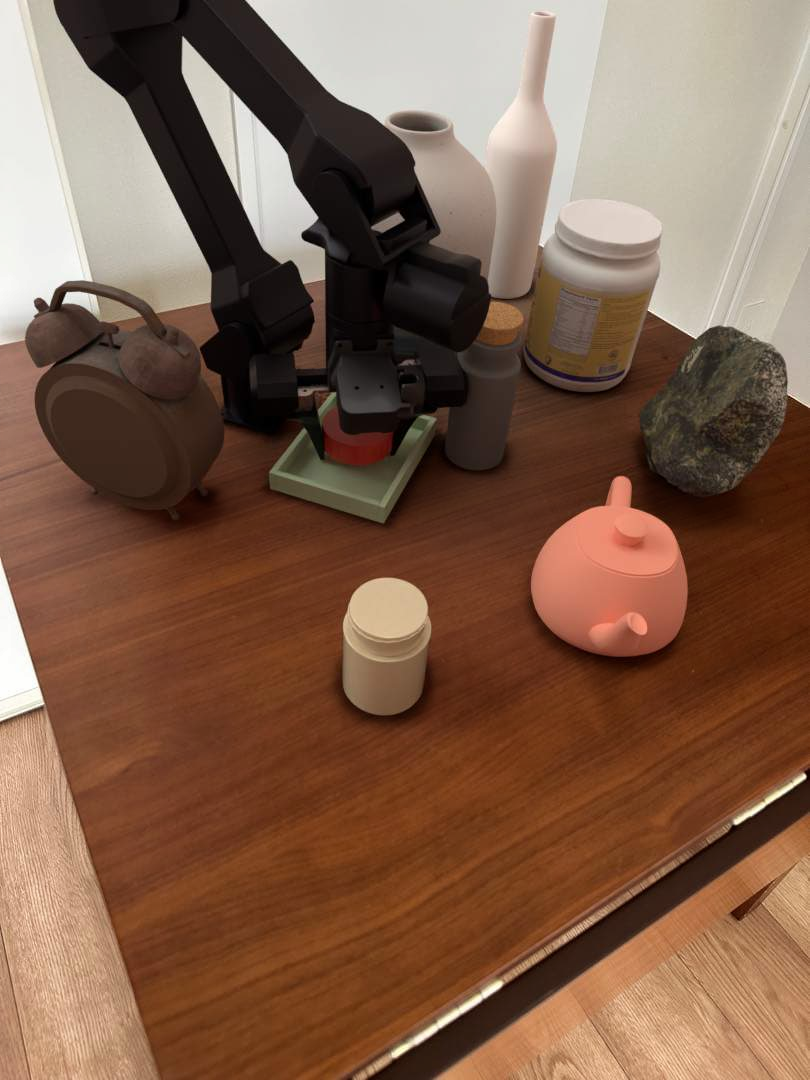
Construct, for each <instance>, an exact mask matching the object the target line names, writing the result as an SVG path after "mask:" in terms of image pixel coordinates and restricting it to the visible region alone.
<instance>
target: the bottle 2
mask: <svg viewBox="0 0 810 1080" xmlns="http://www.w3.org/2000/svg"><path fill="white" fill-rule="evenodd" d="M524 319H525V318H524V314H523V313H522V311H520V310H519V309H518V308H516V307H515V306H513V305H510V304H509V303H506V302H502V301H501V302H500V301H493V300H492V301H490V306H489V311H488V314H487V317H486V320H485V322H484V324H483V327H482V329H481V331H480V333H479V334H478V336H477V338H476V339H475V341H474V342H473V343H472V344H471V345H470V347H469V348H468V349H466V350H465V351H463V352H458V354H457V358H458V361H459V363H460V365H461V367H462V369H463V370H464V372H465V373H466V375H467V377H468V384H469V389H468V396H467V403H466V404H464V405H463V406H462V407H449V409H448V417H447V424H446V432H445V441H444V453H445V455H446V457H447V459H448V460H449V461H450V462H451V463H453V464H454V465H455V466H457V467H459V468H462V469H465V470H470V471H486V470H490V469H492V468H494V467H496V466H498V465H499V464H500V463H501V461H502V459H503V458H504V457H503V456H504V453H505V449H506V443H507V439H508V434H509V429H510V426H511V425H510V424H511V419H512V414H513V409H514V403H515V399H516V395H517V394H516V393H517V388H518V383H519V378H520V372H521V366H522V365H521V359H520V357H519V355H518V352H519V351H520V349H521V346H522V342H523V341H522V340H523V335H522V333H521V331H520V330H521V328H522V326H523V323H524Z"/></svg>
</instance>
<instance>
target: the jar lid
mask: <svg viewBox="0 0 810 1080" xmlns="http://www.w3.org/2000/svg"><path fill="white" fill-rule="evenodd" d="M321 431H322V438H323V443H324V450H325V452H326V453H327V454H328V455H329V456H330V457H331V458H333V459H335V460H337V461H339V462H341V463H344V464H349V465H369V464H373V463H376V462H378V461H380V460H382V459H384V458H385V457H386V456H388V454H389V452H390V451H391V450H392V440H393V436H394V431H393V432H390V433H381V432H375V433H360V434H358V435H349V434H346V433H344V432H343V431H342V430H341V428H340V425H339V415H338V406H337V407H334V408H333V409H331V410H330V411H328V412H327V413H326V415H325V416H324V418H323V421H322V426H321Z"/></svg>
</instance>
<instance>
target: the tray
mask: <svg viewBox="0 0 810 1080" xmlns="http://www.w3.org/2000/svg"><path fill="white" fill-rule="evenodd" d="M334 407H337V398H336V393H329V395H328V397H327V398H326V399H325V401H324V402H323V403H322V404H321V406H320V407H319V408H318V414H319V419H320V425H321V426H322V421H323V418H324V416H325V415H326V413H327V412H328V411H330V410H331V409H333V408H334ZM437 421H438V419H437V417H434V416H430V415H427V414H425V415H422V416H419V417H418V418H417V419H416V420H415V422H414V423H413V424H412V426H411V427H410V429H409V430H408V432H407V434H406V436H405V438H404V439H403V441H402V443H401V445H400V447H399V448H398V450H397V452H396V454H395V455H394V456H390V453H389V454H388V456H386V457H385V458H384V459H382V460H380V461H378V462H376V463H373V464H369V465H349V464H344V463H341V462H339V461H337V460H335V459H333V458H331V457H330V456H329V455H328V454H327V453H326V452H325V459H324V460H320V458H319V456H318V454H317V452H316V449H315V447H314V445H313V443H312V441H311V439H310V436H309V434H308V433H307V431H306V429H305V428H304V427H303V429H301V431H300V432H299V433H298V435H296V438H295V439H294V440H293V441H292V443H290V445H289V446H288V447H287V449H286V450H285V452H284V453H283V454H282V455H281V456H280V458H279V459H278V460H277V461H276V462H275V464H274V465H273V467H272V468H271V469H270V471H268V478H269V480H268V481H269V488H270V490H272V491H276V492H279V493H281V494H282V493H283V494H285V495H289V496H292V497H295V498H298V499H302V500H305V501H309V502H311V503H315V504H318V505H320V506H321V505H322V506H325V507H328V508H331V509H335V510H337V511H341V512H345V513H348V514H351V515H354V516H358V517H360V518H363V519H367V520H371V521H374V522H377V523H381V524H385V522H386V521H387V519H388V517H389V515H390V514H391V512H392V510H393V509H394V506H395V505H396V503H397V501H398V500H399V498H400V496H401V494H402V493H403V491H404V489H405V487H406V486H407V484H408V482H409V481H410V479H411V477H412V475H413V473H414V472H415V470H416V469H417V467H418V465H419V463H420V461H421V460H422V458H423V456H424V454H425V453H426V451H427V449H428V447H429V446H430V444H431V442H432V440H433V439H434V437H435V435H436V429H437Z"/></svg>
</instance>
